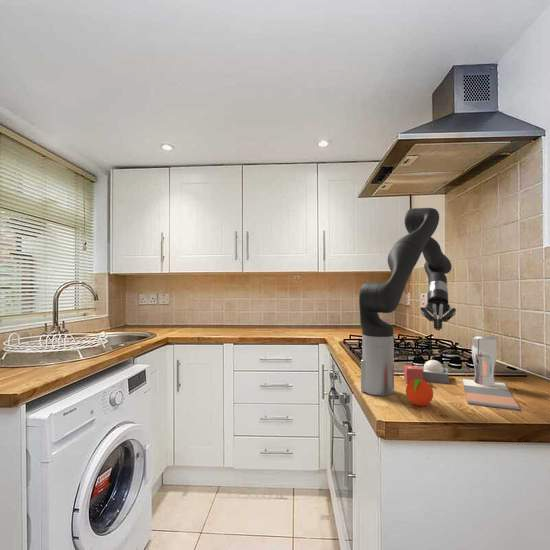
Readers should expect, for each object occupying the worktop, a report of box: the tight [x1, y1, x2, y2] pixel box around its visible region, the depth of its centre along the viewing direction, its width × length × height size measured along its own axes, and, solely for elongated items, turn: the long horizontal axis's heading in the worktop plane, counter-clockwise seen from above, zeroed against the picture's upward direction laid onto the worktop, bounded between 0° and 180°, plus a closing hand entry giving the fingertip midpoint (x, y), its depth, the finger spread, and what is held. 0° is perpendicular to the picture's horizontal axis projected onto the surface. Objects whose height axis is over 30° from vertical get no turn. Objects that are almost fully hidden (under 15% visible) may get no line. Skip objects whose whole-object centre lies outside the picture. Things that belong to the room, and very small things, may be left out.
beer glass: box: [471, 335, 498, 387], centre depth 114 cm, size 7×7×15 cm
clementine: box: [405, 379, 434, 407], centre depth 95 cm, size 8×7×7 cm
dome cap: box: [423, 359, 444, 373], centre depth 122 cm, size 6×6×6 cm
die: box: [403, 364, 423, 385], centre depth 117 cm, size 5×5×5 cm
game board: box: [462, 377, 521, 411], centre depth 106 cm, size 12×28×1 cm, turn 155°
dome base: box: [419, 365, 449, 384], centre depth 122 cm, size 9×9×3 cm
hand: (437, 328), depth 130 cm, fingers closed
